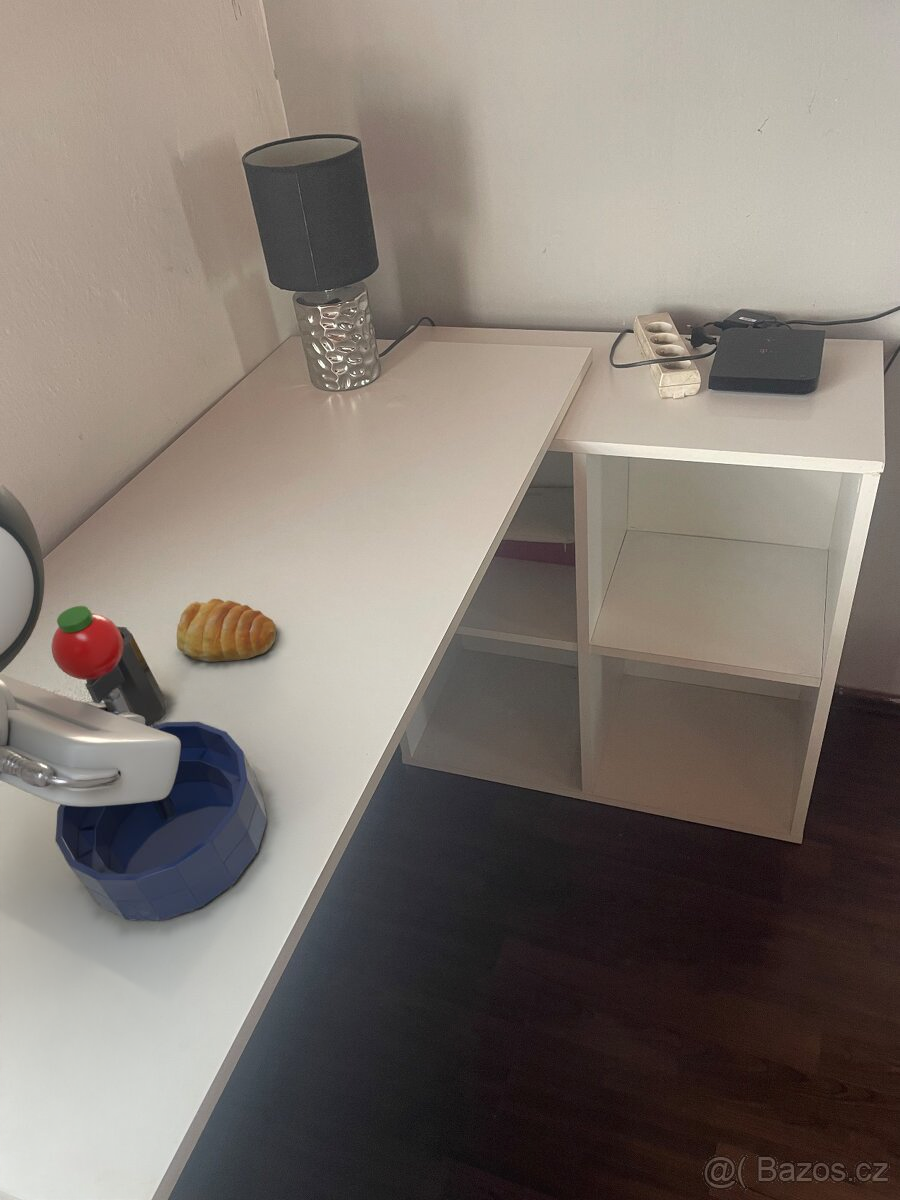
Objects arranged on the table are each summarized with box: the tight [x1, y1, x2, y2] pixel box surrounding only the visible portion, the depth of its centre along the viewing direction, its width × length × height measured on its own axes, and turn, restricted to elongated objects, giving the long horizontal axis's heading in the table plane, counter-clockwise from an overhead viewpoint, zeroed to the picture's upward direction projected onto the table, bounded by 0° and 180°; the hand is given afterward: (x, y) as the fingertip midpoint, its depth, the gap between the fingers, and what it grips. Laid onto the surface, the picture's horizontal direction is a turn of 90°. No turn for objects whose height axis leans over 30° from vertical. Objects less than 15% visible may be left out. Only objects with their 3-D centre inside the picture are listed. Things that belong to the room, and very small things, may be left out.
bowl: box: [55, 721, 268, 921], centre depth 66 cm, size 14×14×6 cm
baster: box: [51, 605, 176, 821], centre depth 59 cm, size 4×4×19 cm
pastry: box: [176, 598, 277, 663], centre depth 83 cm, size 9×7×4 cm
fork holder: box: [117, 626, 168, 727], centre depth 76 cm, size 4×4×9 cm
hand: (122, 721), depth 59 cm, fingers closed on baster
